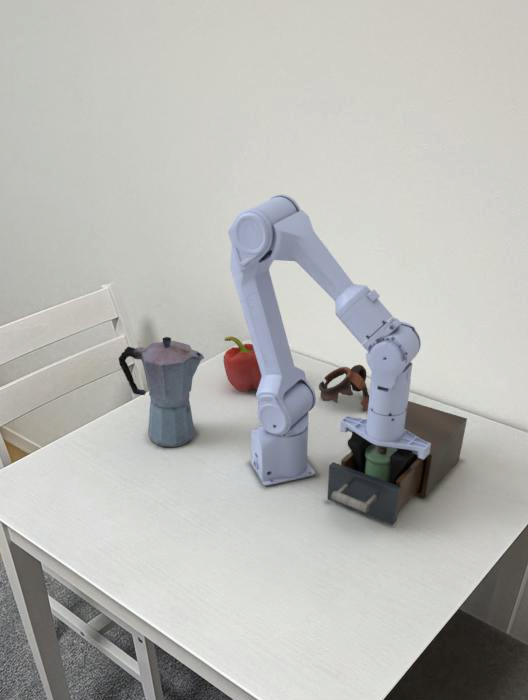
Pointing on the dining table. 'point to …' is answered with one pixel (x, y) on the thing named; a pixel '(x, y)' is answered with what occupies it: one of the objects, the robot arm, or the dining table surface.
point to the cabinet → (436, 441)
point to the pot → (379, 461)
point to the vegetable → (242, 366)
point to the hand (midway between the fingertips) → (379, 480)
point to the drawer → (374, 488)
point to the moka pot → (166, 388)
